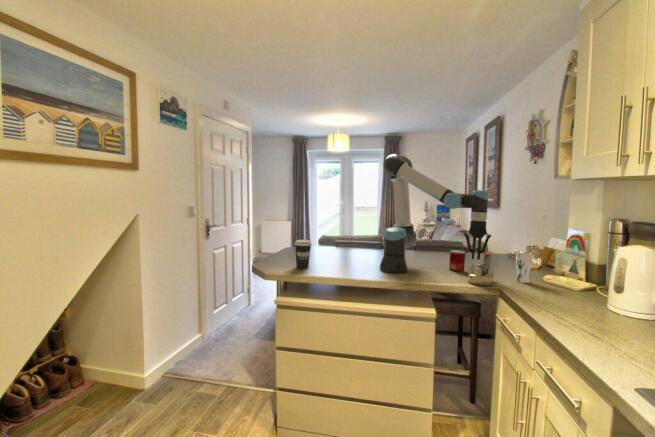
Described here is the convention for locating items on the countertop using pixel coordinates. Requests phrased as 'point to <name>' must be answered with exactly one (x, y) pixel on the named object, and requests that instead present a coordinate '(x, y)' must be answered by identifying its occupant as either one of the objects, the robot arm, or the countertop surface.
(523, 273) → the beer glass
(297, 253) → the coffee cup
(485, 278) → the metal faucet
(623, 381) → the countertop surface
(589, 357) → the countertop surface
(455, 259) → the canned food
